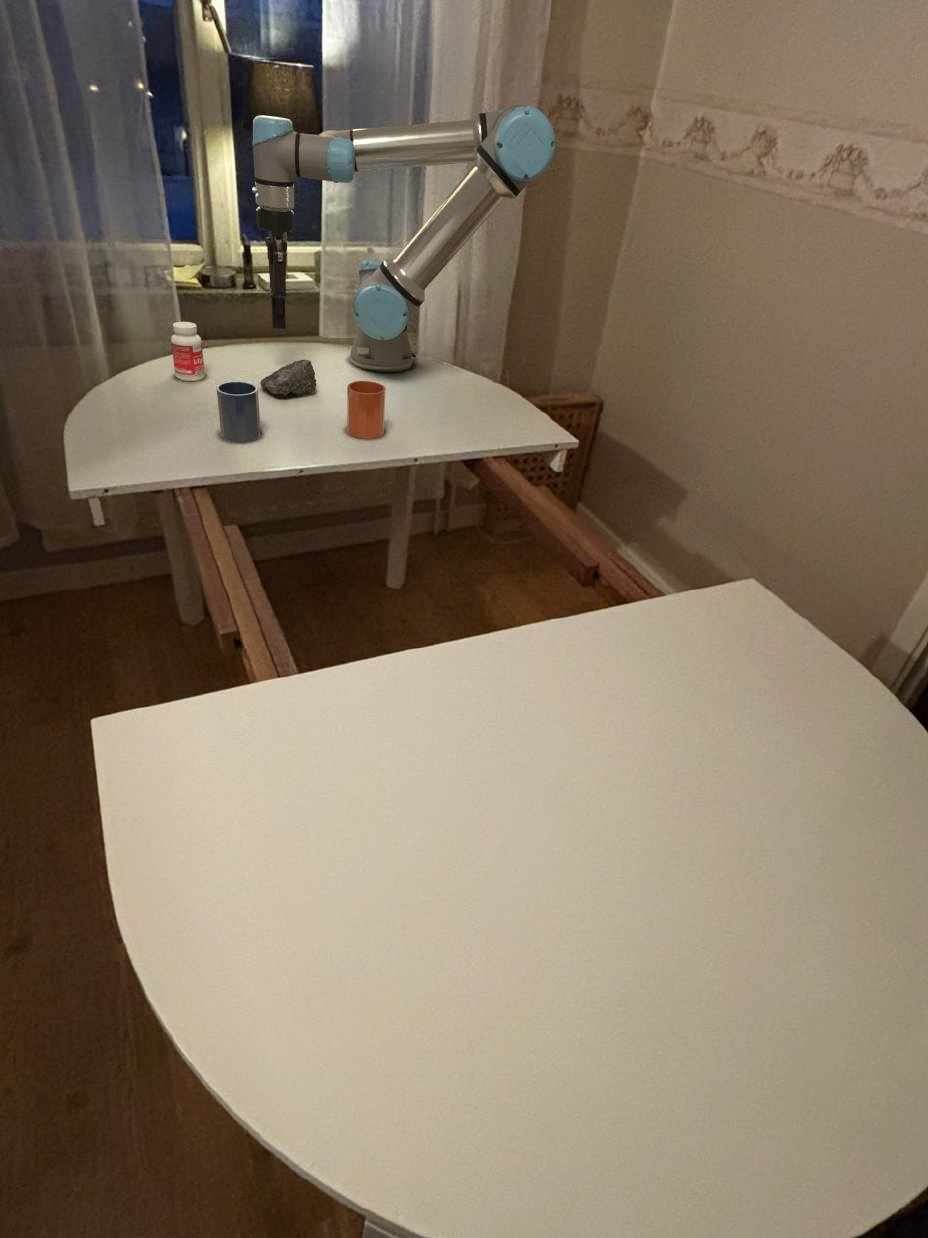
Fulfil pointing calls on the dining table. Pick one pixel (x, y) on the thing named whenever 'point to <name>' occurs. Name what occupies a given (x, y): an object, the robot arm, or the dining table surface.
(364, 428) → the orange cup
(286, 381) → the rock
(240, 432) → the cup
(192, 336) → the pill bottle
